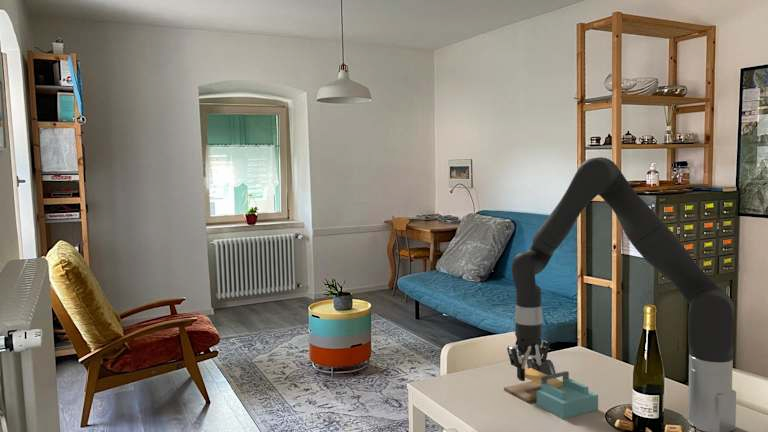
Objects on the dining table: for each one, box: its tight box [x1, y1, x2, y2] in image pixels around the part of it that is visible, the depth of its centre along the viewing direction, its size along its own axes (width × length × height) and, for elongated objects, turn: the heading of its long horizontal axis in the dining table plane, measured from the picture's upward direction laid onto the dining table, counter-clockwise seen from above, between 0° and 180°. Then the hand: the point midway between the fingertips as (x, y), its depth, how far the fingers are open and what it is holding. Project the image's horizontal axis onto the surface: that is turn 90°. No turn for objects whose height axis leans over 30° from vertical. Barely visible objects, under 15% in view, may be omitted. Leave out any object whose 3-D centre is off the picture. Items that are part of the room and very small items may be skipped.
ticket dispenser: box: [536, 370, 599, 420], centre depth 156 cm, size 10×12×8 cm
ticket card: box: [525, 368, 563, 388], centre depth 165 cm, size 13×5×1 cm, turn 26°
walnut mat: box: [503, 380, 541, 404], centre depth 168 cm, size 11×14×1 cm
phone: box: [526, 358, 556, 375], centre depth 187 cm, size 8×1×15 cm
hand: (528, 378), depth 170 cm, fingers closed on ticket card, 4 cm apart
